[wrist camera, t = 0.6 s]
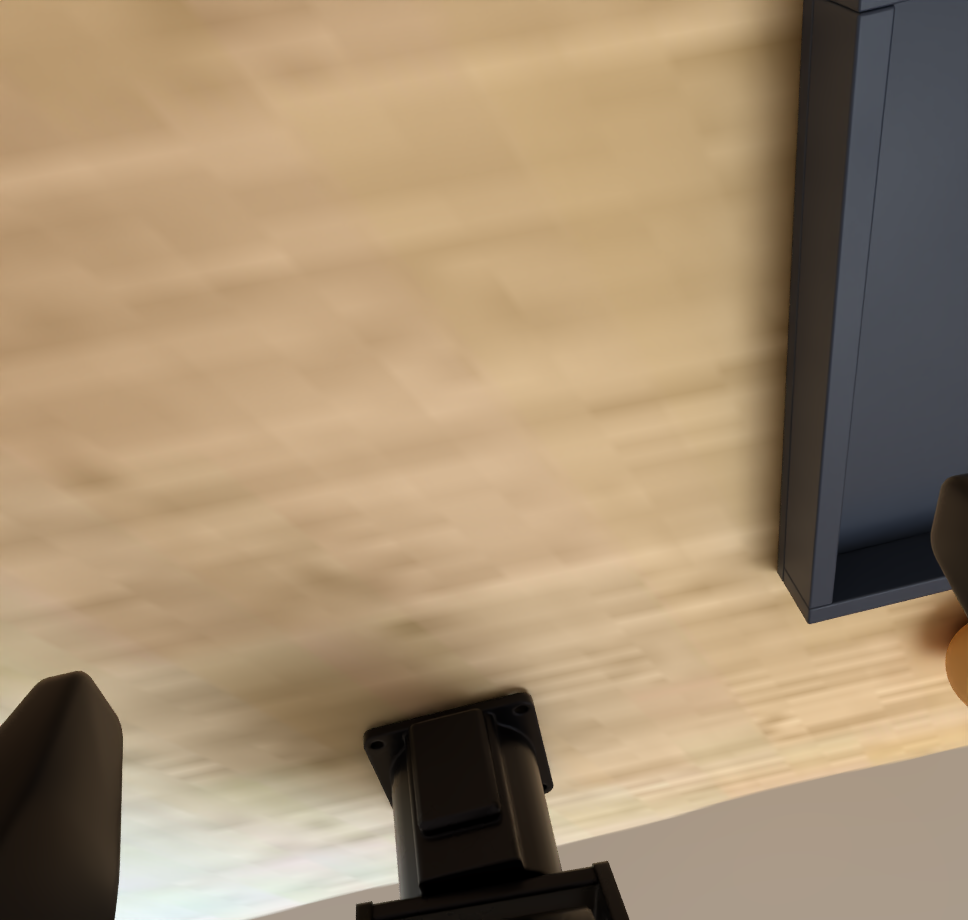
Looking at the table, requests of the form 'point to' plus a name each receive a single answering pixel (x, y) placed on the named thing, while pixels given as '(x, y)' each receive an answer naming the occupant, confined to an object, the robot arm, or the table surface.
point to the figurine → (958, 663)
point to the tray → (875, 302)
